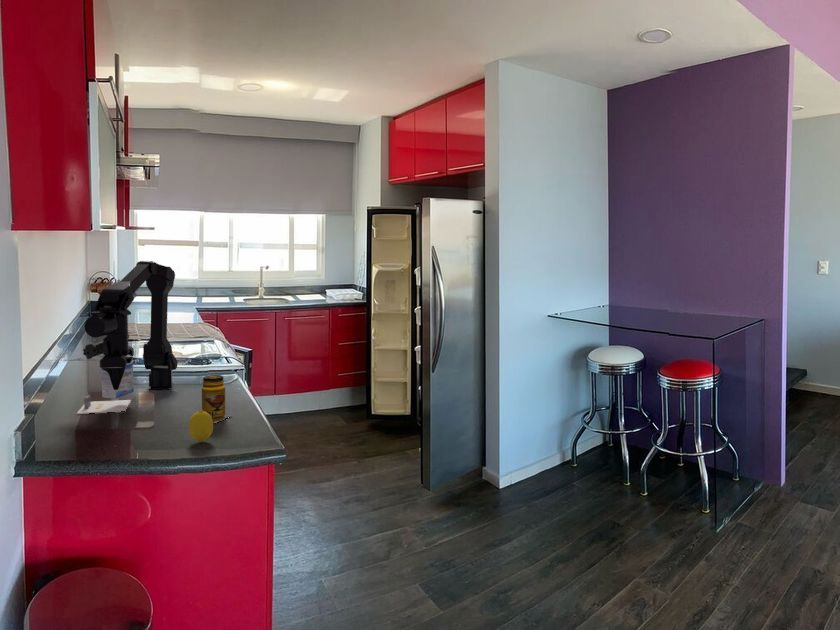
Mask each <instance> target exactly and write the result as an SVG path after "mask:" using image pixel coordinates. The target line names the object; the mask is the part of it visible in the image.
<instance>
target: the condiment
mask: <svg viewBox="0 0 840 630" xmlns="http://www.w3.org/2000/svg"><path fill="white" fill-rule="evenodd" d="M224 383H225V382H224V376H223V375H222V374H209V375H205V376H203V378H202V387H201V410H203V411H205V412H207V413H208V414H210V416H211V417H212V421H213V422H215V421H220V420H223V419H225V415H226V386H225V385H224ZM228 419H230V418H229V417H228Z"/></svg>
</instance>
